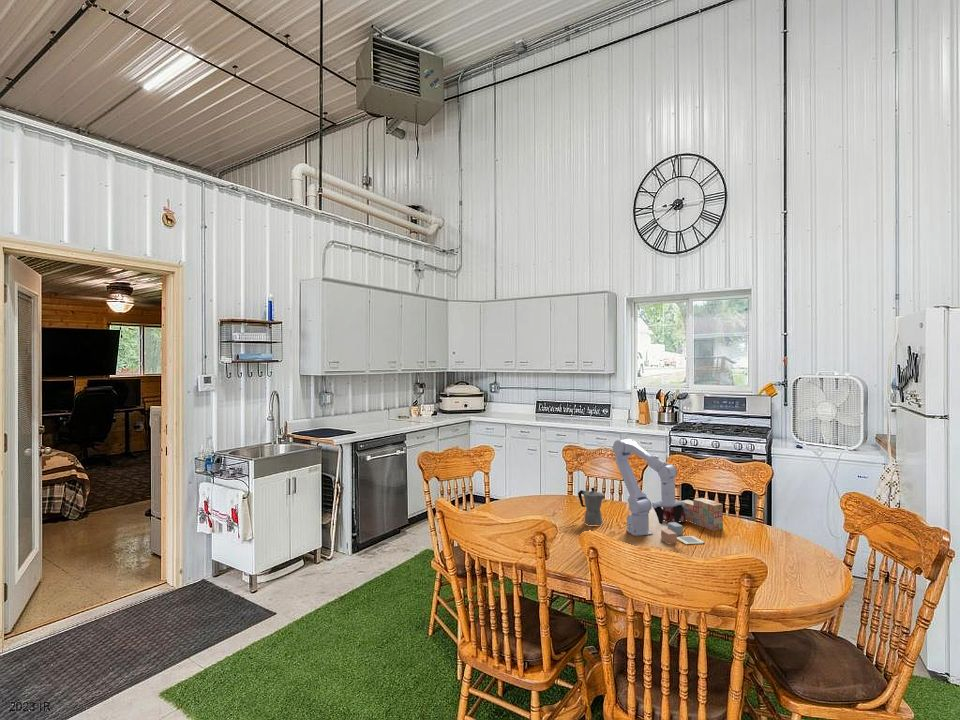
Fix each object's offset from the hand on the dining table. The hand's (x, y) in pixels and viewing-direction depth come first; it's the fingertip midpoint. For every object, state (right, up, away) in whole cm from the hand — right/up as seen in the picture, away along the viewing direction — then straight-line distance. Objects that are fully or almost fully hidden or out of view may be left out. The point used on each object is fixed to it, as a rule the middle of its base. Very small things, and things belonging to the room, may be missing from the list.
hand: (668, 523), depth 224 cm
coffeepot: (-28, -9, +27) cm, 40 cm away
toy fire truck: (+13, -9, +28) cm, 32 cm away
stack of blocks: (+25, -9, +24) cm, 36 cm away
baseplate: (+9, -8, 0) cm, 12 cm away
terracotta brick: (0, -8, 0) cm, 8 cm away
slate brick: (+7, -8, +10) cm, 15 cm away
